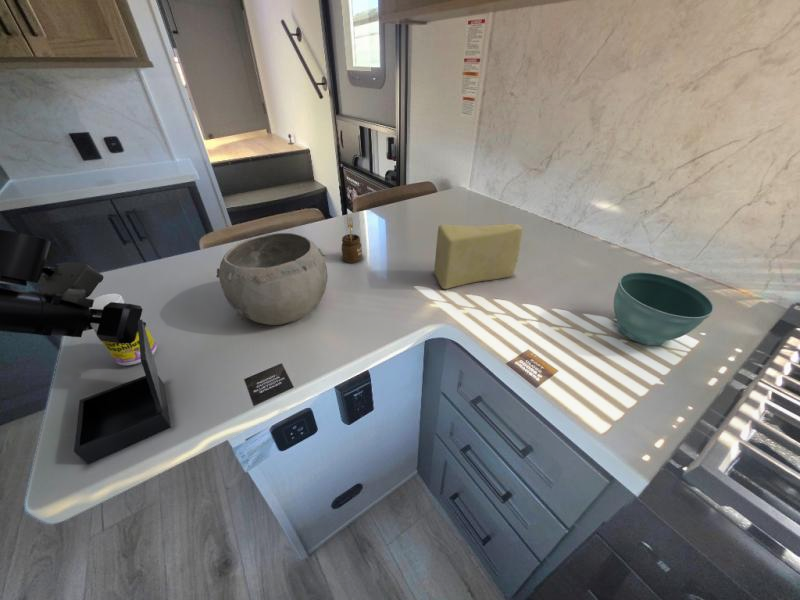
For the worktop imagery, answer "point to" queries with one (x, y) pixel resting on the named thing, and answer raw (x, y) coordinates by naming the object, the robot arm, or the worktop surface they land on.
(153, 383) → the lid
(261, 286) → the bowl
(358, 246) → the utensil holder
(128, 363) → the supplement bottle
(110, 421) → the black open box
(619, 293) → the teal green bowl
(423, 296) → the worktop surface
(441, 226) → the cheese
